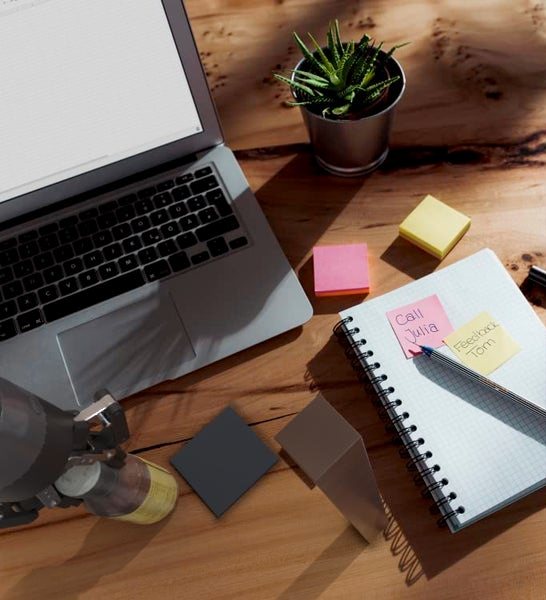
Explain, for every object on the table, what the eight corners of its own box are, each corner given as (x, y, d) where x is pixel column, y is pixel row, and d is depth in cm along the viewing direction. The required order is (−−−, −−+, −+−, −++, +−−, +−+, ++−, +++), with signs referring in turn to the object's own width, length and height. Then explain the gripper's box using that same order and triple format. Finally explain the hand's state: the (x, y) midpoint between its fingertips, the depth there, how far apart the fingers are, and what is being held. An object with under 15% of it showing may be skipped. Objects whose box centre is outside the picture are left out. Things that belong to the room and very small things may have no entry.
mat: (219, 517, 74) (217, 517, 73) (170, 460, 77) (168, 459, 76) (279, 460, 76) (278, 459, 76) (230, 406, 79) (229, 405, 79)
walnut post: (370, 543, 73) (315, 482, 31) (351, 523, 74) (272, 437, 31) (389, 523, 74) (361, 436, 31) (370, 503, 74) (319, 393, 32)
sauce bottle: (116, 494, 74) (20, 463, 56) (162, 456, 76) (84, 415, 58) (147, 540, 72) (59, 524, 54) (195, 501, 74) (124, 472, 56)
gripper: (46, 330, 48) (136, 395, 63) (-138, 473, 44) (6, 505, 59) (107, 401, 45) (184, 450, 61) (-82, 559, 41) (52, 568, 57)
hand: (96, 477), depth 60 cm, fingers closed on sauce bottle, 4 cm apart
